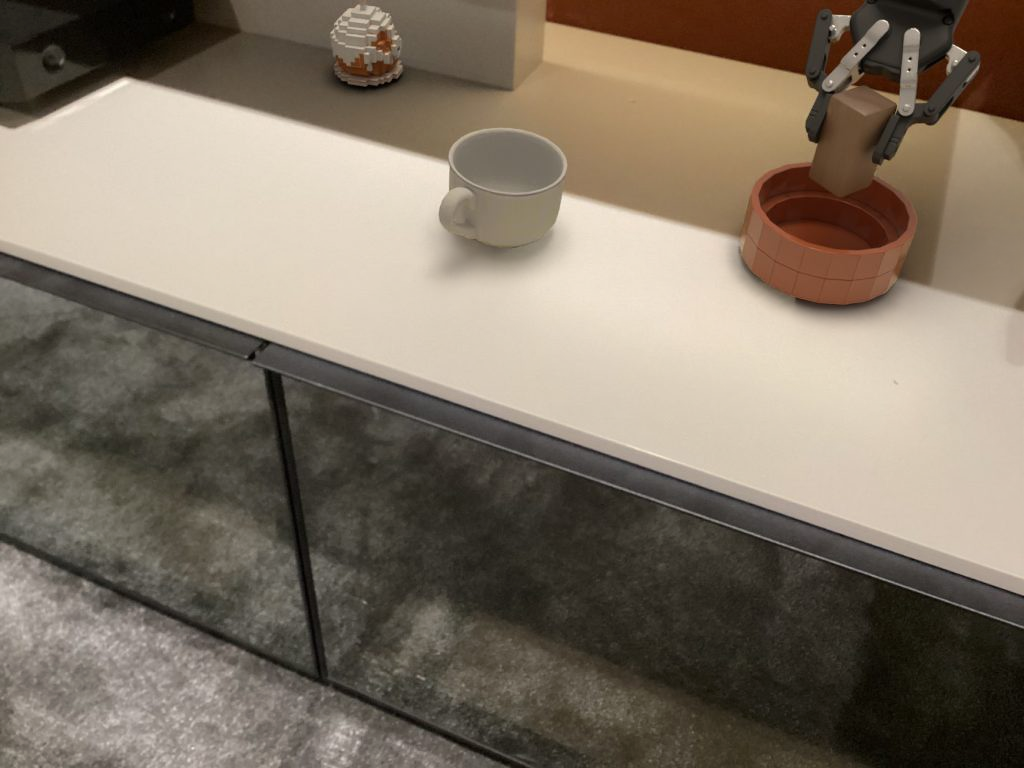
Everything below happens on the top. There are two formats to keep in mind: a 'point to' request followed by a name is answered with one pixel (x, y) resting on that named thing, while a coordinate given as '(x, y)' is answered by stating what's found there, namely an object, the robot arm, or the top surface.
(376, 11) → the decorative ornament
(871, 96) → the wooden block
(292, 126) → the top surface
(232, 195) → the top surface
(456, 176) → the teacup
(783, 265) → the bowl
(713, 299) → the top surface
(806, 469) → the top surface
